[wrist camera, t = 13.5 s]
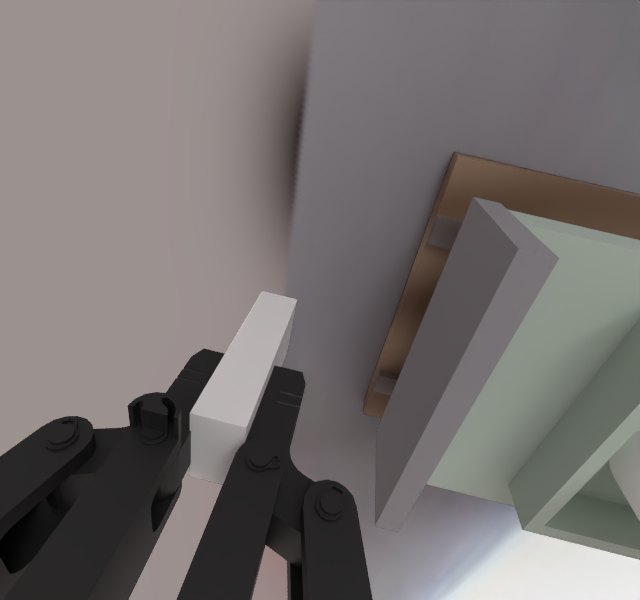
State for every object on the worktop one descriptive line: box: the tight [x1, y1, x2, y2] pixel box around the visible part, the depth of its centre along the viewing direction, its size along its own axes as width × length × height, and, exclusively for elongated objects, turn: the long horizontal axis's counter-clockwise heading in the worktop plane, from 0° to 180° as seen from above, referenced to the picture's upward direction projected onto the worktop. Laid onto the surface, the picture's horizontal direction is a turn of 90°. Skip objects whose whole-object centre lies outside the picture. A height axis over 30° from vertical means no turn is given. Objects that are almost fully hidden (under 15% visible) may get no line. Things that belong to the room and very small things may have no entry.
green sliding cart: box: [375, 197, 640, 560], centre depth 15 cm, size 13×18×6 cm
